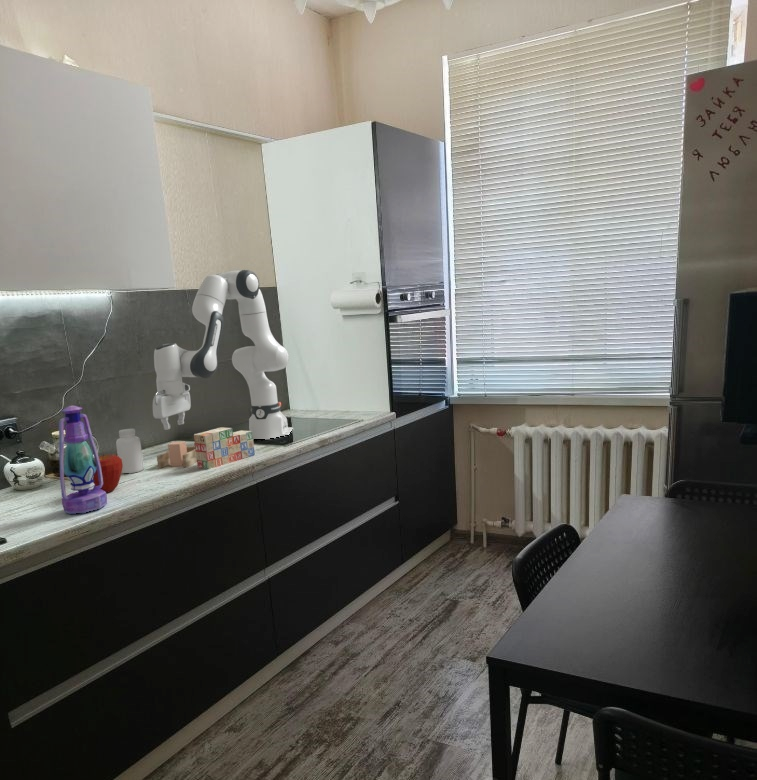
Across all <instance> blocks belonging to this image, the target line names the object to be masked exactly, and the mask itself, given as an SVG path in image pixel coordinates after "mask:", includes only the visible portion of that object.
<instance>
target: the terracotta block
mask: <svg viewBox="0 0 757 780" xmlns="http://www.w3.org/2000/svg"><path fill="white" fill-rule="evenodd" d="M186 447H187V443H186V441H173V442H171V443H168V444H167V448H168V451H169V457H170V464H169V465H170V467H184V464H183V455H184V454H186V453H187V448H186Z"/></svg>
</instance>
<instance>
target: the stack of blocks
mask: <svg viewBox="0 0 757 780" xmlns="http://www.w3.org/2000/svg"><path fill="white" fill-rule="evenodd" d="M233 430H234V429H233V428H232V427H222V426H221V427H217V428H214V429H210V430H207V431H202V432H198V433H194V434H193V439H194V446H195V451H196V457H197V462H196V464H197V468H198V469H203V468H204V470H212V469H214V468H218V467H221V465H222V466H224V465H228V464H231V463H234V462H237V461H239V460H243V458H244V459H246V457H247V458H250V457H253V456H255V446H254V445H255V444H254V439H253V436H252V431H249V430H238V431H237V430H236V431H233ZM252 455H253V456H252ZM249 456H250V457H249ZM211 468H212V469H211Z"/></svg>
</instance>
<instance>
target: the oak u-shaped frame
mask: <svg viewBox="0 0 757 780" xmlns="http://www.w3.org/2000/svg"><path fill="white" fill-rule="evenodd" d="M186 448H187V453H186V454H184V455H183V464H184V465H183V468H189V467H191V466H192V465H194V464H197V457H196V451H195V445H193V446H186ZM156 461H157V469H162V467H163V468H165V467H167V466H169V465H170V457H169V450H167V451H164V452H163V453H160V454H158V455H157V456H156ZM166 465H167V466H166ZM164 466H165V467H164Z"/></svg>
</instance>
